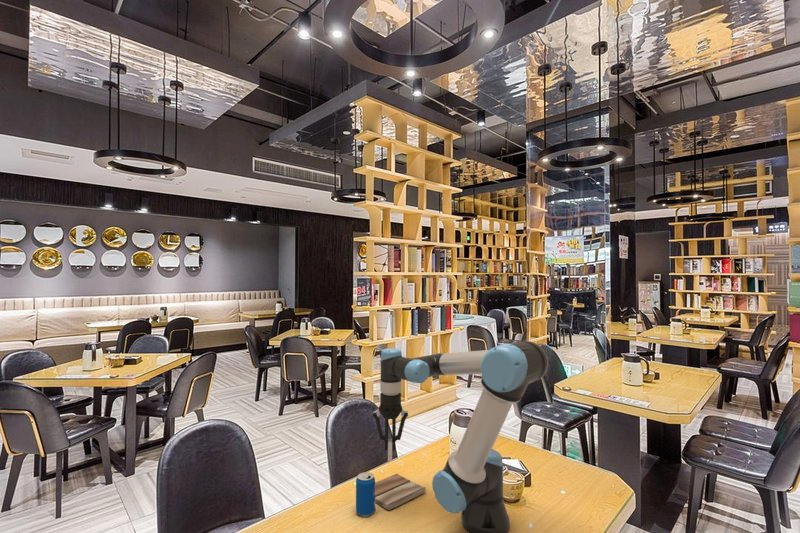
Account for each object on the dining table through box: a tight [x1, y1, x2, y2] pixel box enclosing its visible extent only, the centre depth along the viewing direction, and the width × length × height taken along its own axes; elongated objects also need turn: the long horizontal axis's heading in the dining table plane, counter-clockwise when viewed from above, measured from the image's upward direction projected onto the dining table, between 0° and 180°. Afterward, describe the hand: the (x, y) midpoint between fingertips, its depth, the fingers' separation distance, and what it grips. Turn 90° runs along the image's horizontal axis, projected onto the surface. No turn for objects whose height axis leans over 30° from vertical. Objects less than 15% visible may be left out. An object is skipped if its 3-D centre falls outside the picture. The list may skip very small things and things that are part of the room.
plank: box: [375, 480, 427, 511], centre depth 142 cm, size 8×18×2 cm, turn 132°
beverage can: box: [355, 471, 376, 518], centre depth 133 cm, size 6×6×12 cm
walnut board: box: [375, 473, 411, 497], centre depth 148 cm, size 8×18×2 cm, turn 132°
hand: (389, 459), depth 140 cm, fingers closed
